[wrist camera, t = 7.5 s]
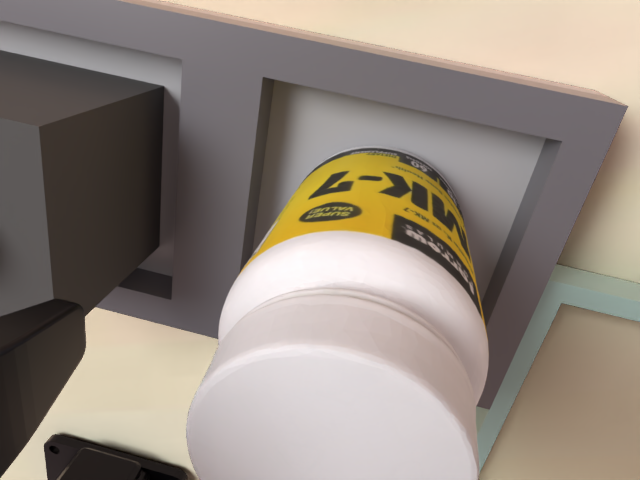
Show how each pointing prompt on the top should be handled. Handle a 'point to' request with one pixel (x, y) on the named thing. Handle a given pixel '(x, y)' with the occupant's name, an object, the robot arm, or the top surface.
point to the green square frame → (560, 288)
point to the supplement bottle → (350, 335)
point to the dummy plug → (75, 180)
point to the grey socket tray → (326, 146)
